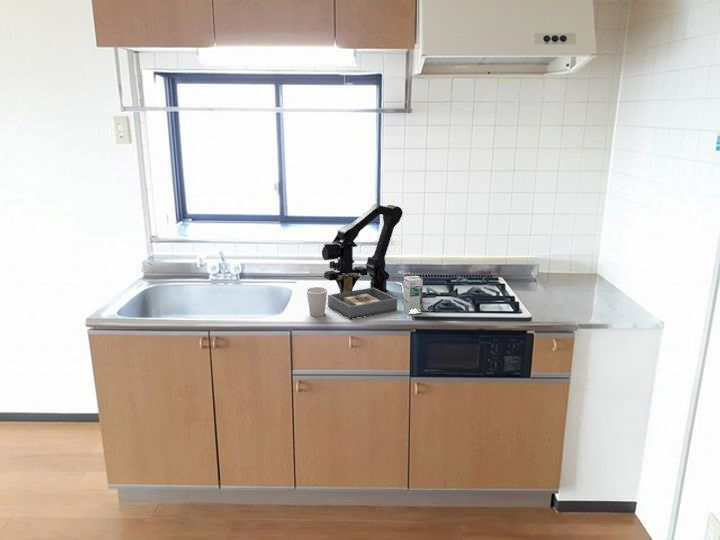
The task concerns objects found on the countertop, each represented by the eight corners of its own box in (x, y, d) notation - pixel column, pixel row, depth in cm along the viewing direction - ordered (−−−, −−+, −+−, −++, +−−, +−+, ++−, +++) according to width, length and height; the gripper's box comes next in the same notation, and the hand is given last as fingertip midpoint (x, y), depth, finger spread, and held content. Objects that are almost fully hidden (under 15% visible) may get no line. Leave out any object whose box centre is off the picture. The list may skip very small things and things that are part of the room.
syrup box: (408, 315, 211) (409, 280, 208) (403, 310, 217) (404, 276, 213) (421, 314, 213) (423, 278, 209) (416, 309, 218) (417, 275, 215)
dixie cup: (309, 310, 217) (309, 286, 214) (329, 311, 215) (329, 287, 213) (304, 317, 209) (303, 292, 206) (325, 318, 207) (325, 293, 205)
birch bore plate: (366, 300, 226) (366, 293, 225) (380, 307, 217) (381, 300, 216) (343, 304, 221) (343, 297, 220) (357, 312, 211) (357, 305, 211)
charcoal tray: (373, 298, 232) (373, 287, 231) (396, 310, 217) (397, 298, 216) (328, 306, 221) (328, 295, 220) (349, 319, 206) (349, 307, 205)
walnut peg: (347, 294, 237) (347, 275, 234) (352, 297, 233) (352, 277, 231) (339, 296, 235) (339, 276, 232) (344, 298, 231) (344, 278, 229)
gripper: (355, 251, 241) (355, 284, 245) (318, 256, 232) (318, 290, 236) (368, 256, 232) (367, 291, 236) (330, 261, 222) (330, 297, 226)
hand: (346, 292), depth 234 cm, fingers closed on walnut peg, 4 cm apart
